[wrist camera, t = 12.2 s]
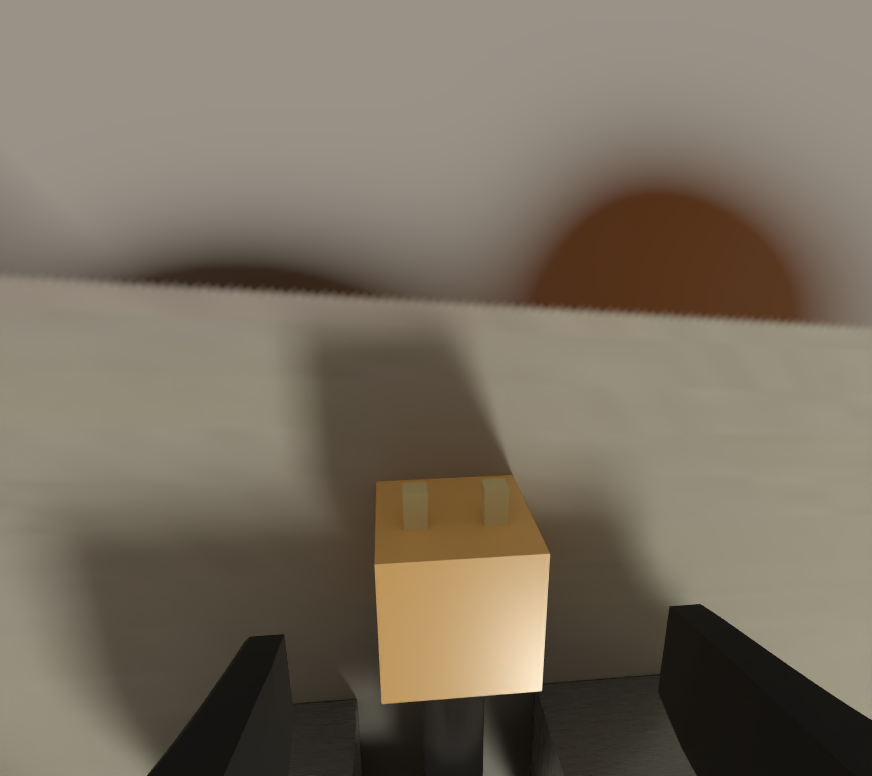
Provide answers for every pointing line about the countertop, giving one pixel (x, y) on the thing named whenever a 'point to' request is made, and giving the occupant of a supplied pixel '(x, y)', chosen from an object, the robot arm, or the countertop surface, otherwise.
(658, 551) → the countertop surface
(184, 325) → the countertop surface
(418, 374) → the countertop surface
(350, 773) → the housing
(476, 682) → the bar with block ends
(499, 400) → the countertop surface
